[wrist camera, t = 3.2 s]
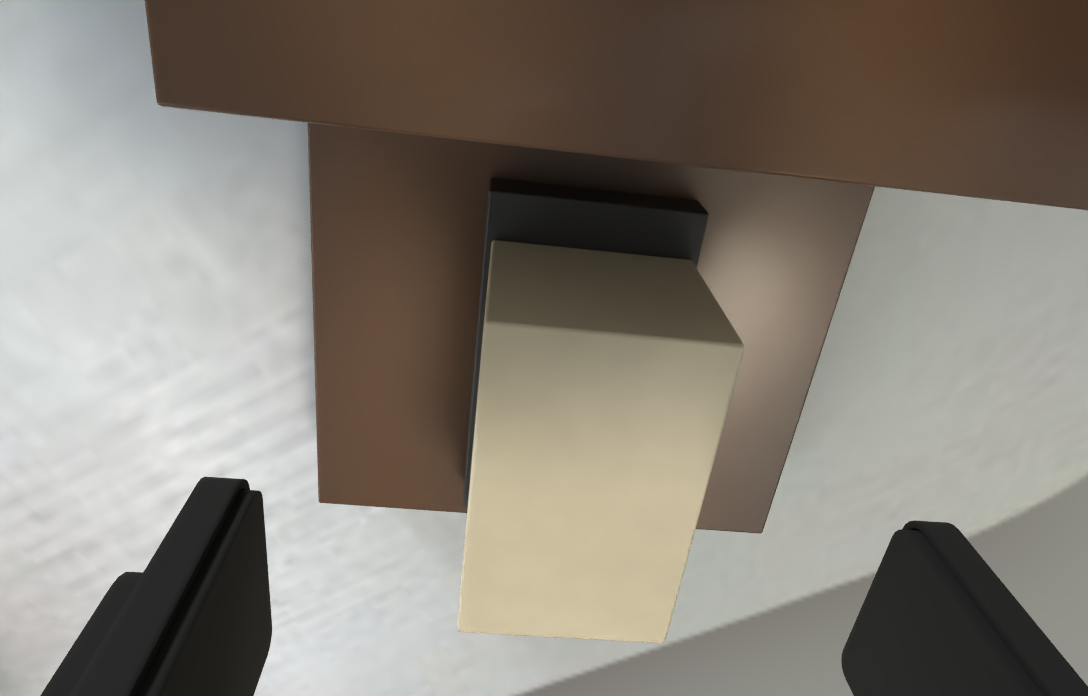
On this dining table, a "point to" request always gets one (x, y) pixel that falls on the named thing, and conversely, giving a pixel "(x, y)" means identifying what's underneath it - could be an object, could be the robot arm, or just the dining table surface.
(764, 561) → the dining table surface
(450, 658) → the dining table surface
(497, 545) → the cream block on base
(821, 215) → the step shelf
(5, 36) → the dining table surface
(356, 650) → the dining table surface
